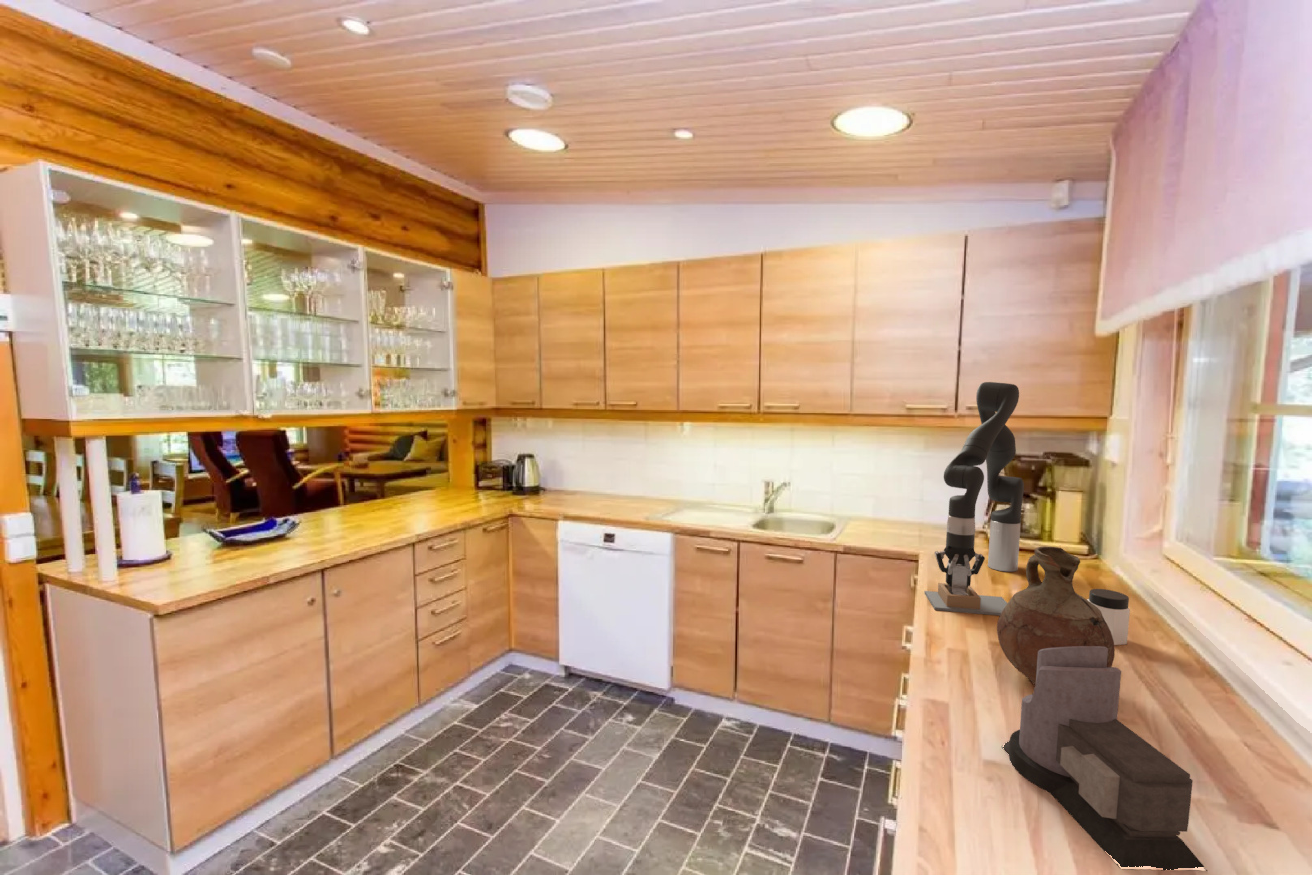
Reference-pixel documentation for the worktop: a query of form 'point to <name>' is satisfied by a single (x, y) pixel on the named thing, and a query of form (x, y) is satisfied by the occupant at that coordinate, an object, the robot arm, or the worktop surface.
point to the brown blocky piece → (1101, 762)
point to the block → (959, 580)
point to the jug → (1050, 614)
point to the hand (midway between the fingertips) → (957, 585)
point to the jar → (1113, 612)
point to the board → (965, 601)
